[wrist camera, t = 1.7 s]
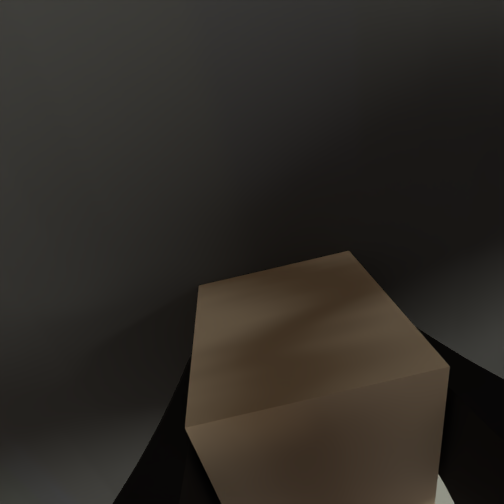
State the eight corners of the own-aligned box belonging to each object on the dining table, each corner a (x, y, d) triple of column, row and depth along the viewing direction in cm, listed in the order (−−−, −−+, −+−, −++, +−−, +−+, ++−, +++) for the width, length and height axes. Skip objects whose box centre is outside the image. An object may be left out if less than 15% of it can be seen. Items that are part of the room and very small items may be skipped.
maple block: (347, 249, 10) (449, 366, 6) (356, 359, 12) (434, 505, 8) (198, 284, 10) (184, 428, 6) (234, 388, 12) (243, 549, 8)
